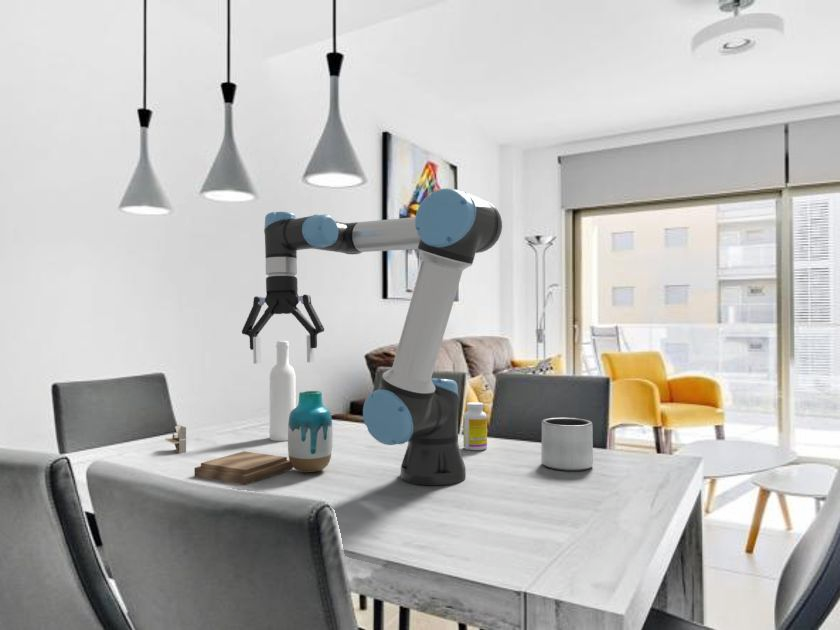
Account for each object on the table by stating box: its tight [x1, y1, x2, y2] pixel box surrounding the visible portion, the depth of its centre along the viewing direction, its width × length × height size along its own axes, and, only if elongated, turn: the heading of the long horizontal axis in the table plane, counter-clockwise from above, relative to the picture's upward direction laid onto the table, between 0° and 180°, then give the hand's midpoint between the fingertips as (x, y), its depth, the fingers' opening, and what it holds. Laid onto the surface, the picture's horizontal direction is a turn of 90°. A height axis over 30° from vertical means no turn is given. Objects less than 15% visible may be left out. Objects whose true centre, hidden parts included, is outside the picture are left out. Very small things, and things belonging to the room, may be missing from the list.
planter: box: [540, 417, 594, 472], centre depth 151 cm, size 13×13×11 cm
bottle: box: [268, 340, 297, 442], centre depth 185 cm, size 8×8×30 cm
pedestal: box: [194, 450, 294, 486], centre depth 144 cm, size 16×16×3 cm
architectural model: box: [164, 424, 187, 454], centre depth 168 cm, size 3×7×7 cm, turn 41°
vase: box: [287, 390, 333, 473], centre depth 145 cm, size 11×11×19 cm
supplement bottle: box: [462, 401, 488, 452], centre depth 171 cm, size 7×7×13 cm
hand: (283, 362), depth 147 cm, fingers open, 13 cm apart
